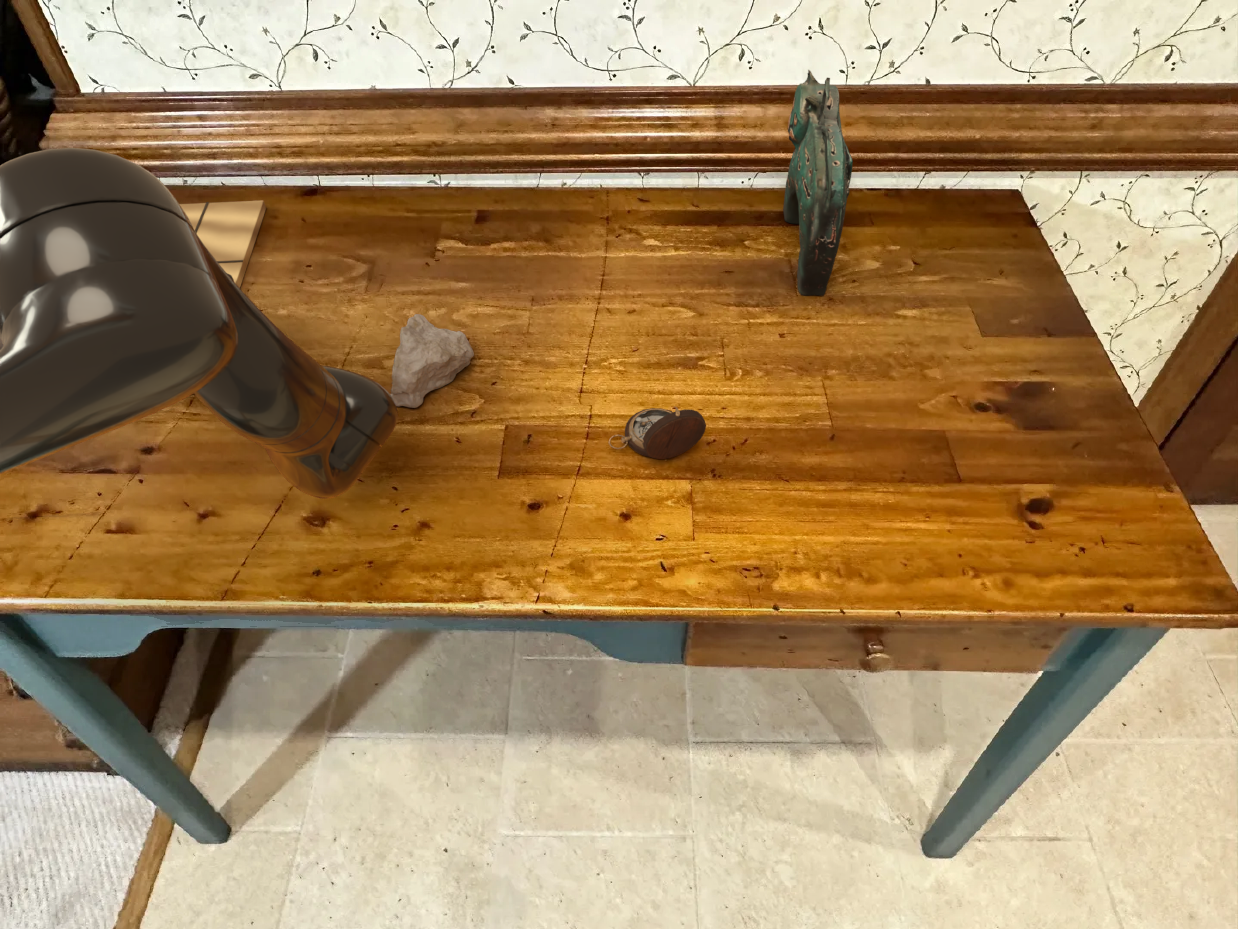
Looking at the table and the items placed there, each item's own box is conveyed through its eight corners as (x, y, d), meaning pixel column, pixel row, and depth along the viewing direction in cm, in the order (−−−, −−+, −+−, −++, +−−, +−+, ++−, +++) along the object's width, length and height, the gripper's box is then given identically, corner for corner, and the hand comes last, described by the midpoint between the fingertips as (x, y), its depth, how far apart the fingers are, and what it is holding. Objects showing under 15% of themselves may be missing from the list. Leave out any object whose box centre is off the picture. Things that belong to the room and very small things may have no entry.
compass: (670, 406, 89) (673, 352, 84) (704, 461, 84) (710, 407, 79) (597, 428, 87) (595, 375, 82) (628, 485, 82) (628, 432, 77)
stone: (449, 420, 88) (439, 377, 84) (374, 406, 89) (361, 364, 85) (482, 355, 94) (475, 313, 90) (412, 344, 96) (402, 301, 91)
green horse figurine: (773, 202, 113) (796, 45, 98) (823, 203, 113) (854, 45, 98) (786, 299, 100) (814, 135, 85) (843, 301, 100) (881, 136, 85)
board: (205, 393, 91) (200, 383, 90) (66, 401, 90) (59, 391, 89) (266, 208, 113) (263, 198, 112) (155, 213, 112) (150, 203, 111)
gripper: (270, 278, 79) (165, 214, 86) (125, 363, 72) (24, 286, 79) (294, 341, 85) (194, 277, 92) (162, 426, 78) (64, 349, 85)
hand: (116, 281), depth 85 cm, fingers closed on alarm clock, 6 cm apart
